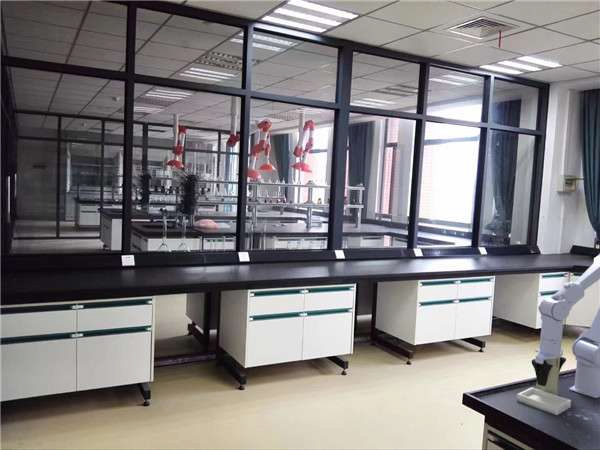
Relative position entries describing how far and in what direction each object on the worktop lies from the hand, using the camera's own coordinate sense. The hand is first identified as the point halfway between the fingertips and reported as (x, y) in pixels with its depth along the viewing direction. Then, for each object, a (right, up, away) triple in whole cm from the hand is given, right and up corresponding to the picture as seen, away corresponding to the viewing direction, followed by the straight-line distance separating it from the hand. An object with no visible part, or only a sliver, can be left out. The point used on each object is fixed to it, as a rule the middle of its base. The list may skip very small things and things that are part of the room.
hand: (547, 382), depth 150 cm
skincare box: (0, -4, 0) cm, 4 cm away
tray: (-5, -4, -8) cm, 10 cm away
